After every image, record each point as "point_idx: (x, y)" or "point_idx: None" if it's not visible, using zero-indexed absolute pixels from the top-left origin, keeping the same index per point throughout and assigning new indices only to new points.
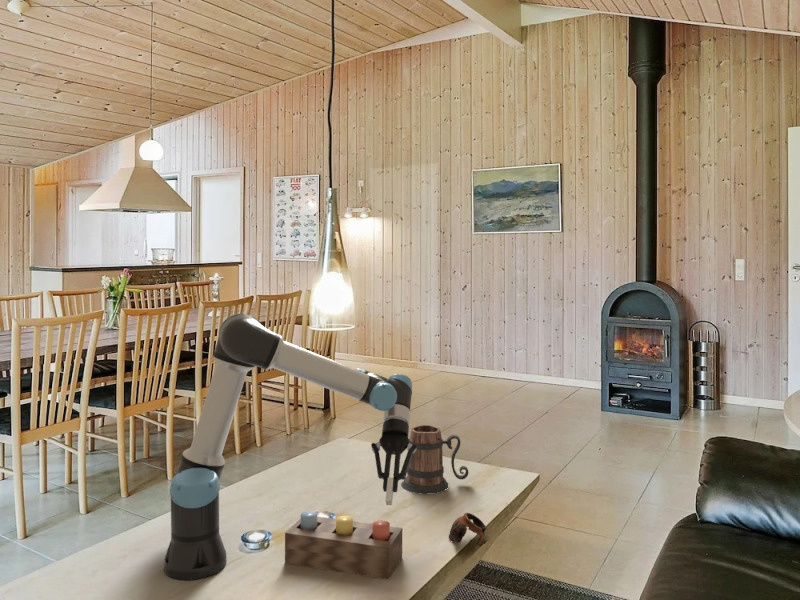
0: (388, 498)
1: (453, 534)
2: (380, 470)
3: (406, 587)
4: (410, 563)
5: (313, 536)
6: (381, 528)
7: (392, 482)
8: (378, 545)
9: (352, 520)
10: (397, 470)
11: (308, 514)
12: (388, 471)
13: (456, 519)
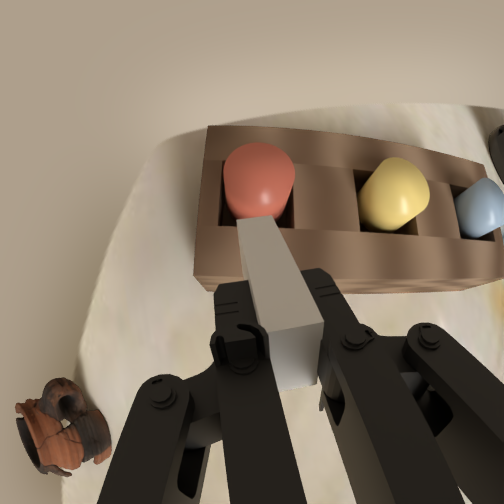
0: (257, 224)
1: (68, 380)
2: (437, 360)
3: (169, 156)
4: (177, 264)
5: (431, 152)
6: (247, 146)
7: (257, 294)
8: (243, 130)
9: (376, 182)
10: (232, 425)
11: (494, 199)
12: (349, 385)
13: (68, 448)
